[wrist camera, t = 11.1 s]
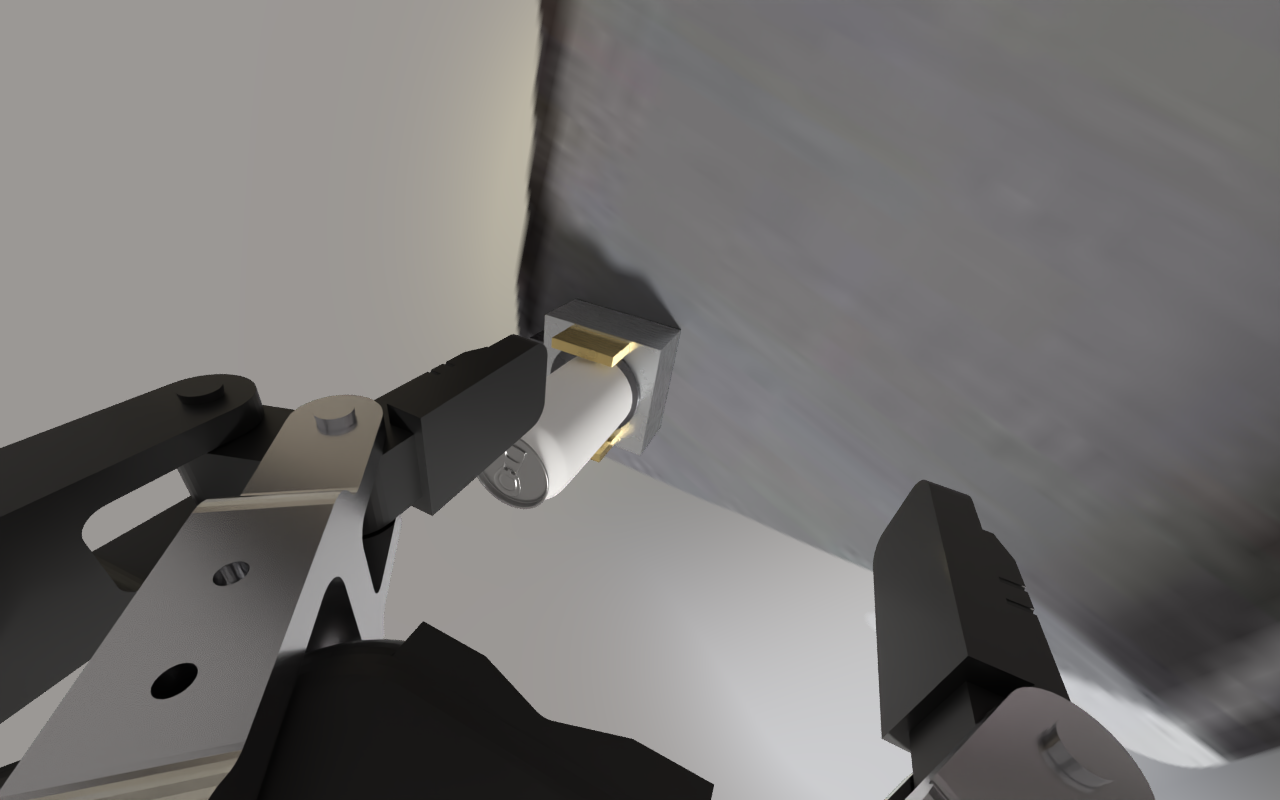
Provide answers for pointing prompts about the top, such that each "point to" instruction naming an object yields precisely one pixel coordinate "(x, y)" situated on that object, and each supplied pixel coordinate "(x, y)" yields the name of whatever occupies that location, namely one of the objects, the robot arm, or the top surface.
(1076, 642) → the top surface
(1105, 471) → the top surface
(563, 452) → the can
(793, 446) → the top surface
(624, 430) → the motor housing
